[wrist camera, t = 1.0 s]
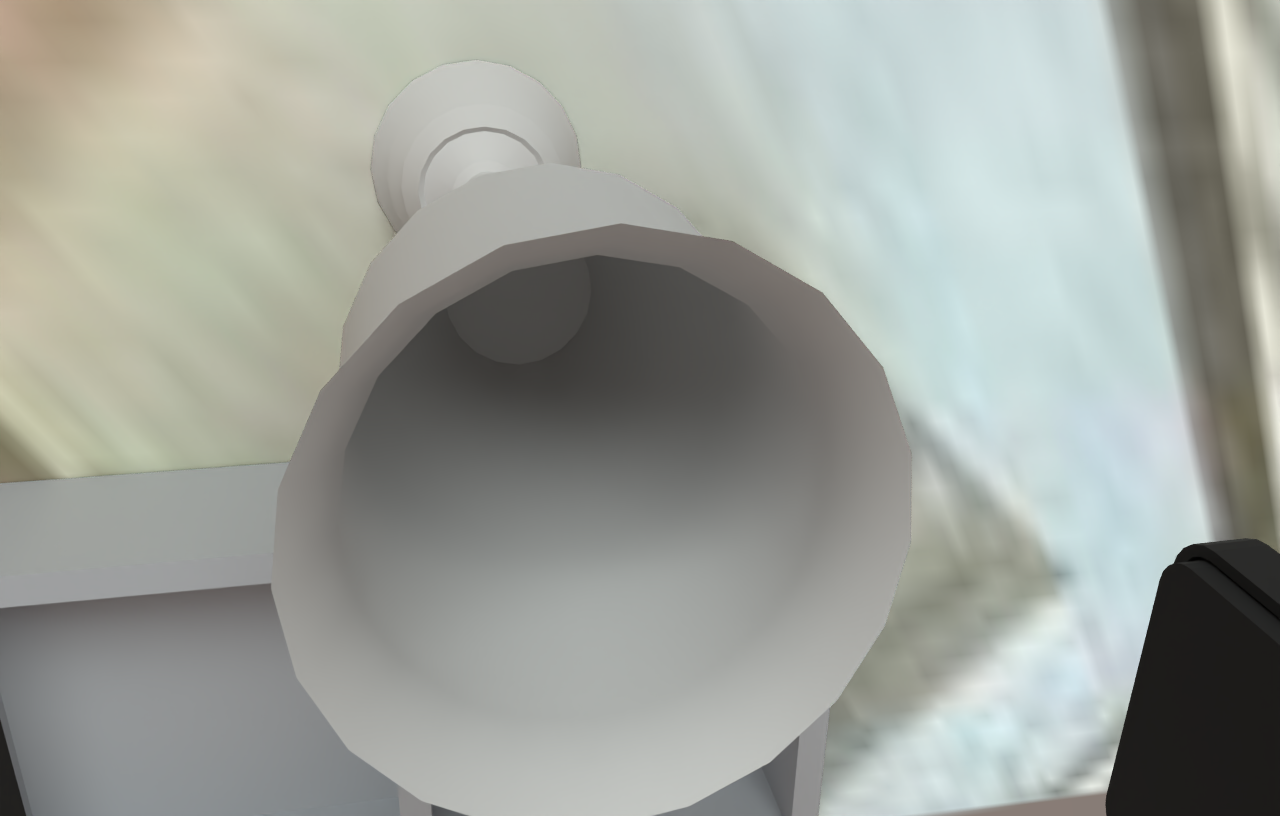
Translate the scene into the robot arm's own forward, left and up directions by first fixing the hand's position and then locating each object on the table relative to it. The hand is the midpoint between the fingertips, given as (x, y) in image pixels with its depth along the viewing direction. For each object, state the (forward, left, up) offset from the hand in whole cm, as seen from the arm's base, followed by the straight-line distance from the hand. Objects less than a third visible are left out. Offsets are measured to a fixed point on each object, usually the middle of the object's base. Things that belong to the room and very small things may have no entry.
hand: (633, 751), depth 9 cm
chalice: (0, 0, -21) cm, 21 cm away
